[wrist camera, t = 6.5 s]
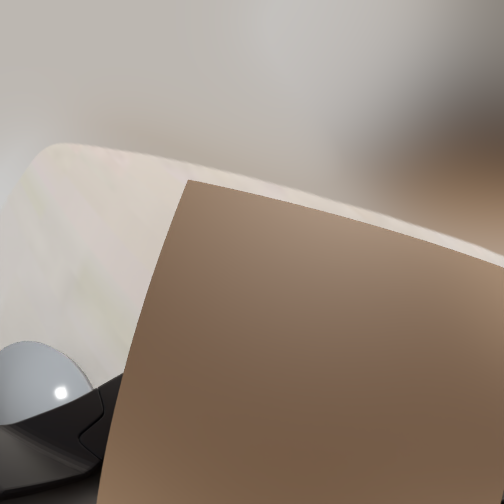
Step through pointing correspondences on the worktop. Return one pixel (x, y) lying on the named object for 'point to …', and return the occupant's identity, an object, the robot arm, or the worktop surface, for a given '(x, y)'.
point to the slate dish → (37, 380)
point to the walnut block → (308, 365)
